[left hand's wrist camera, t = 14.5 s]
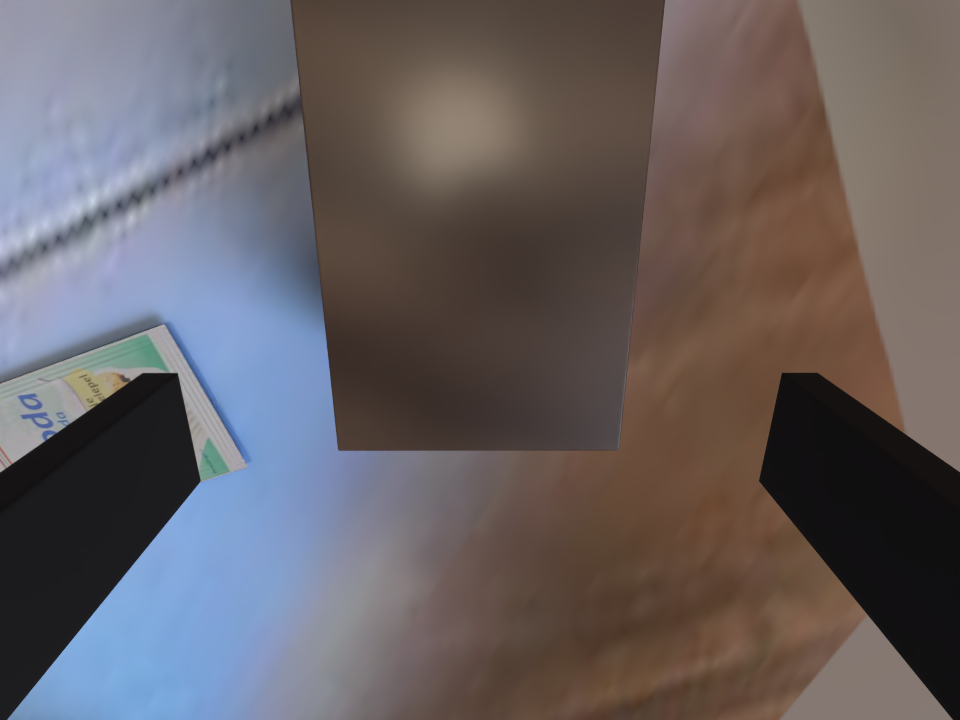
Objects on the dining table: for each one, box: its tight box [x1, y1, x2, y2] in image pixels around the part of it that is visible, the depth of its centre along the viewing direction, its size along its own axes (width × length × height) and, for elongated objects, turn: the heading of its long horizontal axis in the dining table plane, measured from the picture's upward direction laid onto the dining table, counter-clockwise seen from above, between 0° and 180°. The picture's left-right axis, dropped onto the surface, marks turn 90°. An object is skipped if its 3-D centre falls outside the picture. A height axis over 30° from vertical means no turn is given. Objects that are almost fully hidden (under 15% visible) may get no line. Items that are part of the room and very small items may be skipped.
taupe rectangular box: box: [291, 0, 665, 451], centre depth 22 cm, size 18×10×9 cm, turn 0°
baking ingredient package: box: [0, 325, 247, 482], centre depth 31 cm, size 9×1×15 cm
